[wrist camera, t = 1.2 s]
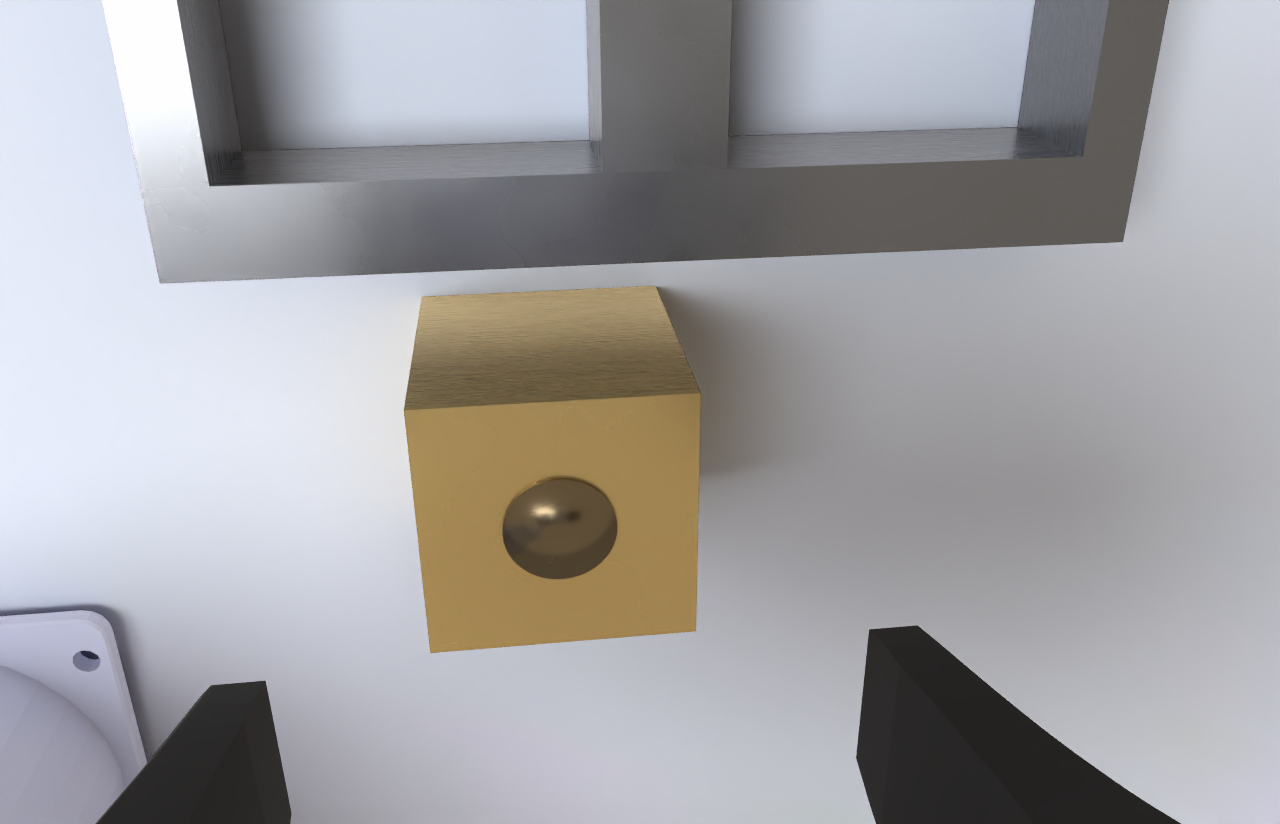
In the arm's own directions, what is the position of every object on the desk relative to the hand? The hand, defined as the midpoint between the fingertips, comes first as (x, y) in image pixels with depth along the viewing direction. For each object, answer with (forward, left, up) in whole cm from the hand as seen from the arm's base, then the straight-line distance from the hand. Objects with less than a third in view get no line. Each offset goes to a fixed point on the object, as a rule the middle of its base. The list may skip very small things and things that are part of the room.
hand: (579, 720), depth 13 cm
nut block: (0, 0, -10) cm, 10 cm away
